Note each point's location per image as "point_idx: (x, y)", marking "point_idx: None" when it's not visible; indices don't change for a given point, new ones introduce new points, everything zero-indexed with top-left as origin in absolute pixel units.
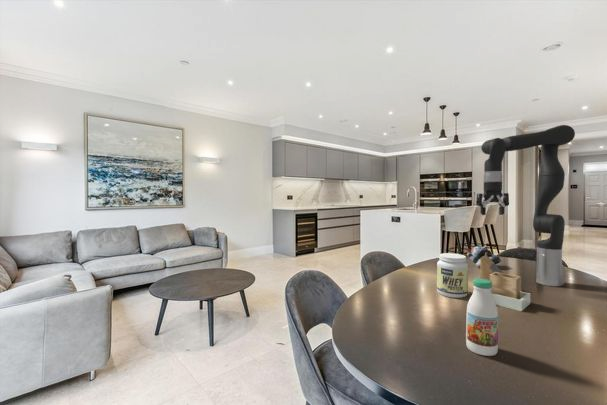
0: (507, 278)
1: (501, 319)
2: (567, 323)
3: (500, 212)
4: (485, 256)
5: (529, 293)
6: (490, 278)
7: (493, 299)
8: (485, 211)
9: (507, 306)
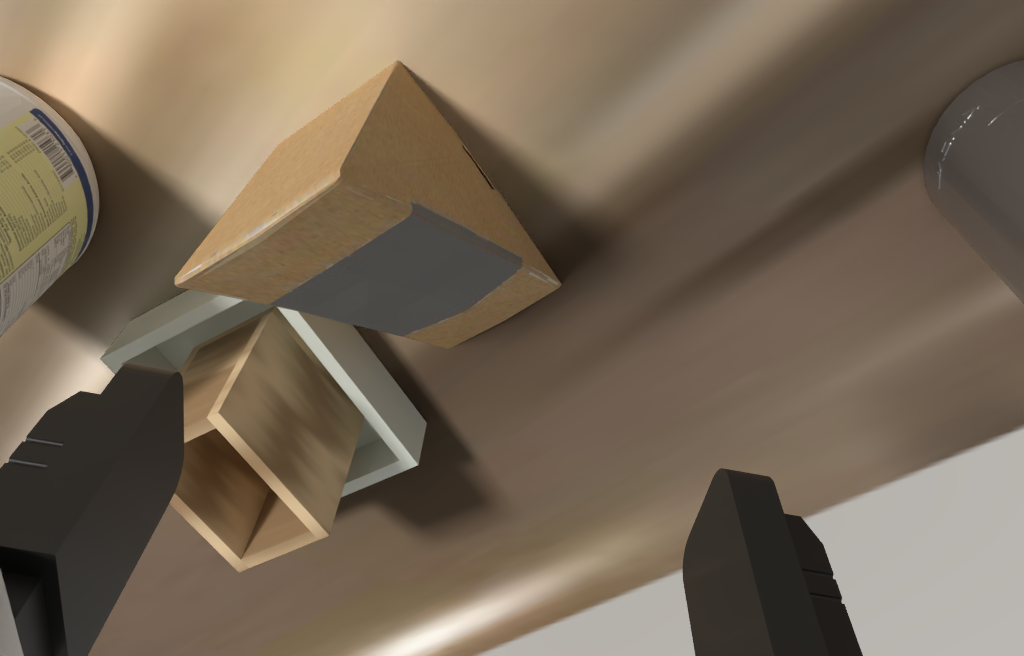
0: (206, 535)
1: None
2: (383, 606)
3: (713, 559)
4: (285, 227)
5: (412, 463)
6: None
7: None
8: (130, 563)
9: None
